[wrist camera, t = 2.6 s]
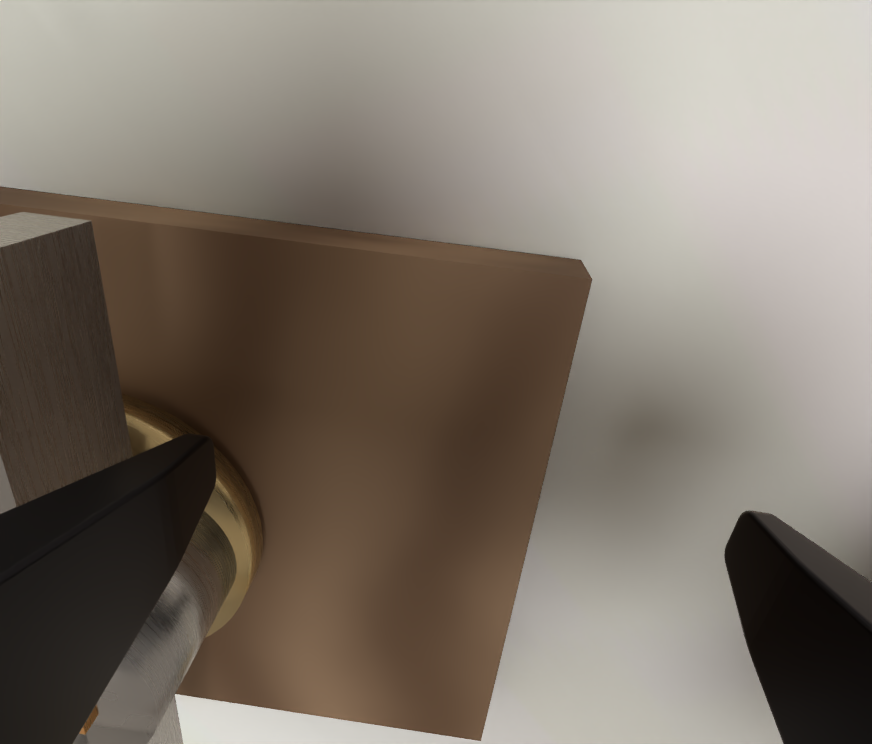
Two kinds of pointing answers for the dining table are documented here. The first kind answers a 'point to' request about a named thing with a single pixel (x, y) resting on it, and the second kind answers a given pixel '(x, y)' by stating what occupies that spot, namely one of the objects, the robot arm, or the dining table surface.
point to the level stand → (350, 441)
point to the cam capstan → (107, 461)
